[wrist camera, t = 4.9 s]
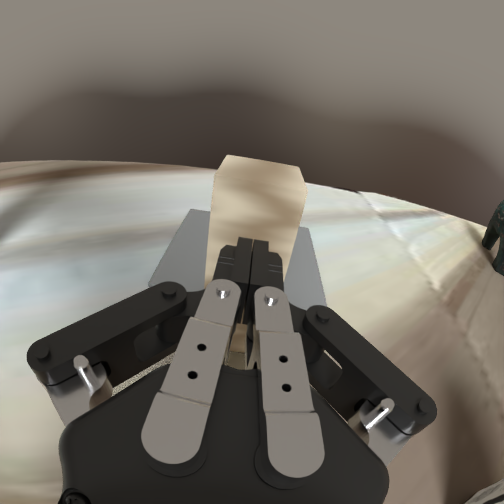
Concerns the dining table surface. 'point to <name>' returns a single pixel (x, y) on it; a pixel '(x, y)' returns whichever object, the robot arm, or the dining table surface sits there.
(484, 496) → the candy bar box
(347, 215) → the dining table surface
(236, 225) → the birch block
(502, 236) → the green animal figurine
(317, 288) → the slate rubber mat
